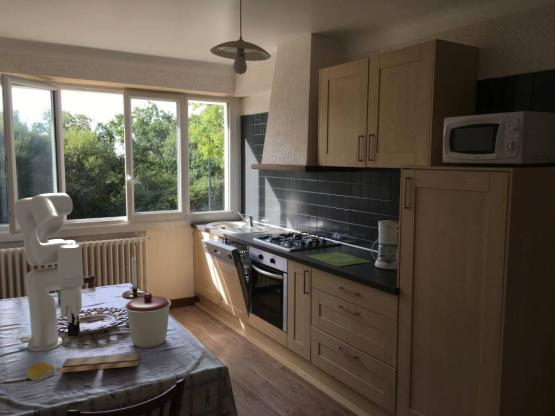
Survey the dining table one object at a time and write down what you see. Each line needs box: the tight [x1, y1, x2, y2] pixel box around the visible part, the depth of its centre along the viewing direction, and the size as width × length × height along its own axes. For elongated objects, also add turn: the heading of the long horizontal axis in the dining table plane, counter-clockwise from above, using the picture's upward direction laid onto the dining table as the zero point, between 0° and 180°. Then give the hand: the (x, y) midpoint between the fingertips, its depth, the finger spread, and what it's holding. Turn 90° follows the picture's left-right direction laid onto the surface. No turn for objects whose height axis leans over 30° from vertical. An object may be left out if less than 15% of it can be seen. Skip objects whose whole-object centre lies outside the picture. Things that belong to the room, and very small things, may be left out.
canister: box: [124, 292, 172, 349], centre depth 190 cm, size 18×18×21 cm
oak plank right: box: [98, 361, 139, 370], centre depth 166 cm, size 12×10×2 cm
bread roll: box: [26, 362, 55, 381], centre depth 164 cm, size 8×9×4 cm
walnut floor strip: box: [61, 352, 140, 368], centre depth 173 cm, size 26×6×2 cm, turn 102°
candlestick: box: [121, 248, 149, 328], centre depth 209 cm, size 11×11×35 cm
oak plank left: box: [56, 365, 100, 374], centre depth 163 cm, size 12×10×2 cm
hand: (74, 334), depth 157 cm, fingers closed
